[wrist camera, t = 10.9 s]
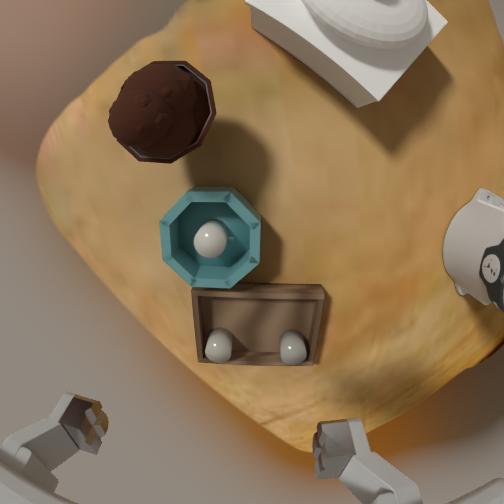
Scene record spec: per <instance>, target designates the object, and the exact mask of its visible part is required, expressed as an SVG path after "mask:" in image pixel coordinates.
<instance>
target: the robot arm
mask: <svg viewBox="0 0 504 504" xmlns="http://www.w3.org/2000/svg"><path fill="white" fill-rule="evenodd" d="M443 261H444V266H445V269H446V271H447V273H448V274H449V276H450V277H451V278H452V279H453V280H454V282H455V287H456V291H457V293H459V294H460V295H466V294H470V295H472V296H473V297H474V298H476V299H477V300H479V301H480V302H481V303H483V304H484V305H488V304H494V305H495V306H496V307H497V308H498V309H499V310H501V311H502V312H504V200H503V199H502V198H500V197H498V196H497V195H495V194H493V193H492V192H490V191H488V190H487V189H485V188H480V189H479V190H478V191H477V193H476V194H475V196H474V197H473V199H472V200H471V201H470V202H469V203H468V204H466V205H465V206H464V207H463V208H461V209H460V210H459V211H458V213H457V214H456V215H455V217H454V218H453V220H452V222H451V223H450V225H449V228H448V230H447V233H446V236H445V240H444V246H443ZM101 408H102V405H101V403H100V402H99V401H96V400H93V399H89V398H86V397H82V396H79V395H76V394H73V393H70V392H66V393H64V395H63V396H62V398H61V399H60V401H59V402H58V404H57V405H56V407H55V409H54V410H53V412H52V413H51V415H50V417H49V418H44V419H42V420H40V421H38V422H36V423H34V424H32V425H30V426H28V427H26V428H24V429H22V430H20V431H18V432H16V433H14V434H12V435H10V436H8V437H7V438H6V440H5V441H4V443H3V445H2V446H1V448H0V504H78V503H75V502H73V501H70V500H69V499H66V498H64V497H62V496H60V495H58V494H56V493H54V491H55V489H56V487H57V484H58V479H57V478H56V477H55V476H54V475H53V474H52V473H51V471H52V470H53V469H55V468H56V467H57V466H59V465H60V464H62V463H63V462H64V461H66V460H67V459H68V458H70V457H71V456H72V455H74V454H75V453H76V452H78V451H79V449H81V450H84V451H87V452H90V453H93V454H97V453H98V450H99V448H100V446H101V444H102V442H101V438H100V437H102V436H103V435H105V434H106V432H107V429H108V423H109V422H108V417H107V415H106V414H105V413H104V412H103V411H102V410H101ZM312 447H313V456H314V457H316V459H317V460H316V463H315V472H316V479H328V478H337V477H339V479H340V480H341V481H342V483H343V484H344V485H345V486H346V487H347V488H348V489H349V490H350V491H351V492H352V493H353V494H354V495H355V496H356V498H357V499H358V500H359V501H360V502H361V503H362V504H423V503H422V499H421V496H420V493H419V490H418V487H417V484H416V483H414V482H413V481H412V480H410V479H409V478H408V477H406V476H405V475H404V474H402V473H401V472H400V471H398V470H397V469H396V468H395V467H393V466H392V465H391V464H389V463H388V462H387V461H385V460H384V459H383V458H382V457H380V456H379V455H378V454H377V453H375V452H371V451H370V447H369V443H368V440H367V437H366V433H365V430H364V427H363V424H362V420H361V419H360V418H353V419H342V420H332V421H321V422H319V423H318V425H317V432H316V433H315V434H314V437H313V444H312ZM446 504H504V479H503V478H496V479H494V480H492V481H490V482H488V483H486V484H485V485H483V486H481V487H479V488H477V489H475V490H474V491H471V492H470V493H468V494H465V495H463V496H461V497H459V498H457V499H455V500H453V501H451V502H448V503H446Z"/></svg>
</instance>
